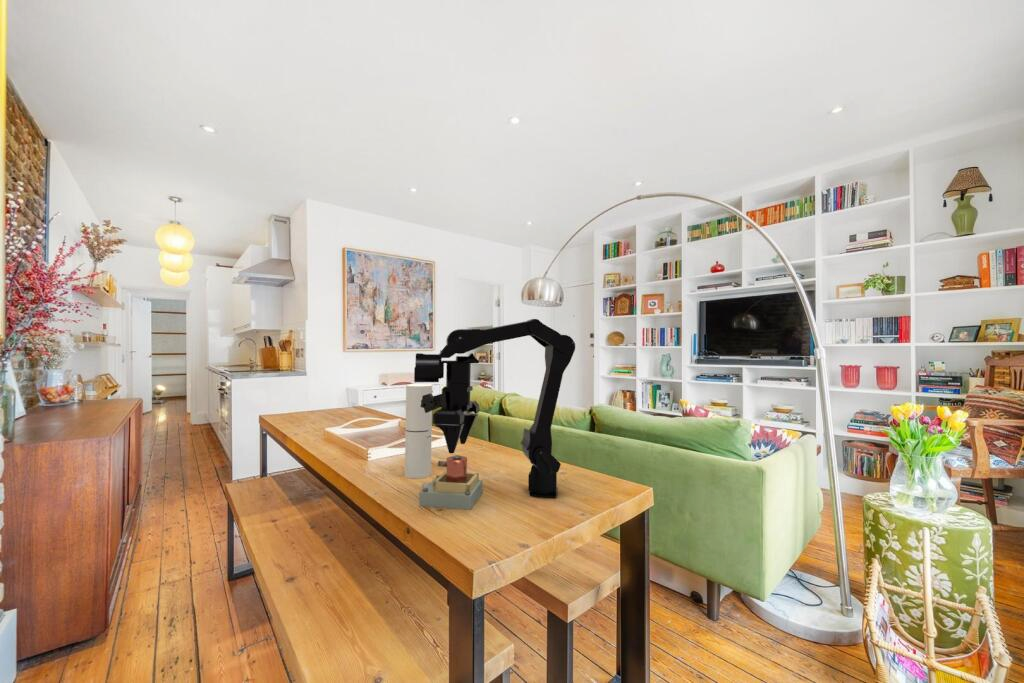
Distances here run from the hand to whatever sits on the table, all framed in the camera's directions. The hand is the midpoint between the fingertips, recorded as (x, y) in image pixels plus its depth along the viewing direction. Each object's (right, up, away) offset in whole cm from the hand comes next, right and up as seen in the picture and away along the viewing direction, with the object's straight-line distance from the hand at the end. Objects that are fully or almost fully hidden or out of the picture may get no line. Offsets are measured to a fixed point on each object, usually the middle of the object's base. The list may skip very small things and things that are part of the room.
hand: (457, 448), depth 97 cm
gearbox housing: (-1, -12, 0) cm, 12 cm away
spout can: (-1, -9, 0) cm, 9 cm away
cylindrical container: (-13, -12, +18) cm, 26 cm away
